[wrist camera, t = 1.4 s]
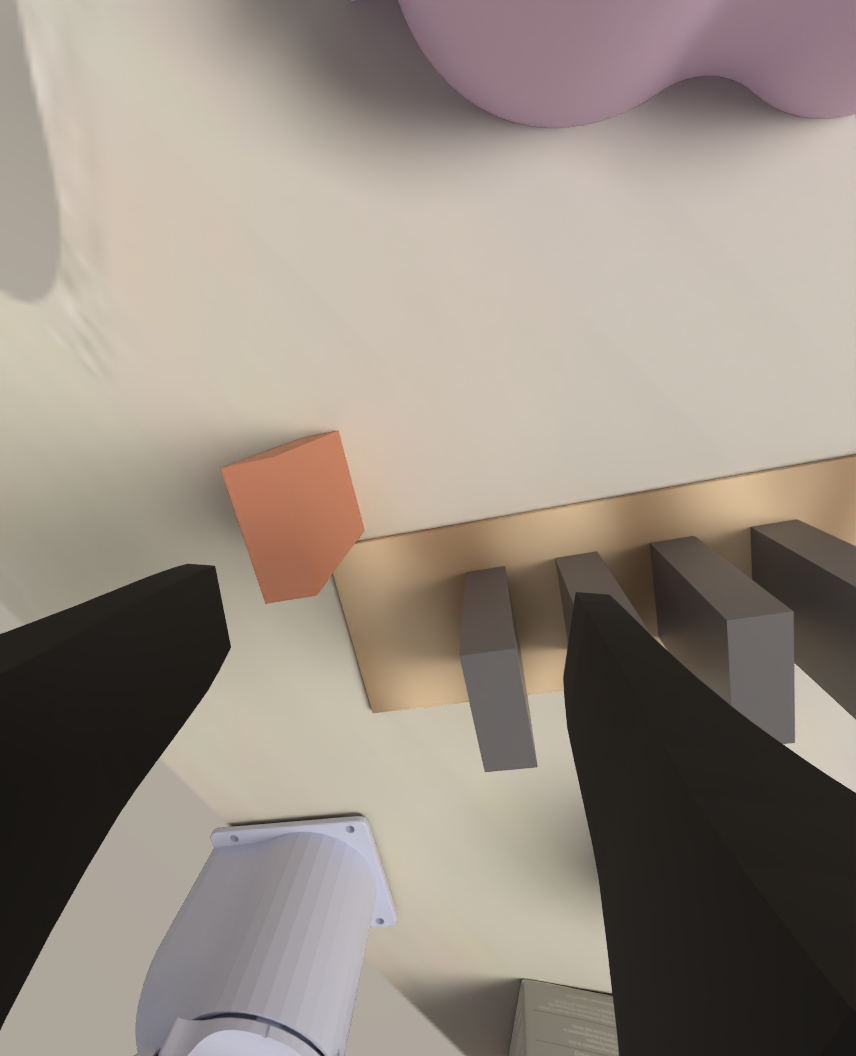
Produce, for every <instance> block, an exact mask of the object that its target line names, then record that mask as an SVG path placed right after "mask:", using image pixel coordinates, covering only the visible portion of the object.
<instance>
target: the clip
mask: <svg viewBox="0 0 856 1056" xmlns="http://www.w3.org/2000/svg"><path fill="white" fill-rule="evenodd" d="M349 1H357V0H349ZM398 2H399V5H400V8H401V11H402V13H403V15H404V18H405V20H406V22H407V25H408V27H409V29H410V31H411V33H412V35H413V36H414V38H415V40H416V42H417V44H418V45H419V47H420V48H421V50H422V52H423V53H424V55H425V56H426V57H427V59H428V60H429V62H430V63H431V64H432V66H433V67H434V68H435V69H436V71H437V72H438V73H439V74H440V75H441V76H442V77H443V78H444V79H445V81H446V82H447V83H448V84H449V85H451V86H452V87H453V88H454V89H455V90H456V91H457V92H458V93H460V94H461V95H462V96H463V97H465V98H466V99H467V100H469V101H470V102H472V103H473V104H475V105H476V106H478V107H480V108H481V109H483V110H485V111H487V112H489V113H491V114H493V115H495V116H498V117H500V118H503V119H506V120H508V121H511V122H515V123H519V124H523V125H528V126H534V127H544V128H564V127H575V126H581V125H587V124H591V123H595V122H599V121H602V120H605V119H609V118H611V117H614V116H616V115H619V114H621V113H624V112H626V111H628V110H630V109H632V108H634V107H636V106H638V105H640V104H641V103H643V102H645V101H647V100H648V99H650V98H651V97H653V96H654V95H656V94H658V93H659V92H661V91H662V90H664V89H665V88H667V87H669V86H671V85H673V84H675V83H677V82H680V81H682V80H685V79H689V78H693V77H699V76H719V77H725V78H728V79H731V80H734V81H736V82H739V83H741V84H742V85H744V86H746V87H747V88H748V89H750V90H751V91H752V92H753V93H755V94H756V95H757V96H758V97H759V98H761V99H762V100H763V101H765V102H766V103H768V104H769V105H771V106H773V107H775V108H777V109H779V110H781V111H784V112H786V113H789V114H793V115H796V116H801V117H807V118H836V117H843V116H848V115H853V114H856V0H398Z"/></svg>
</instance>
